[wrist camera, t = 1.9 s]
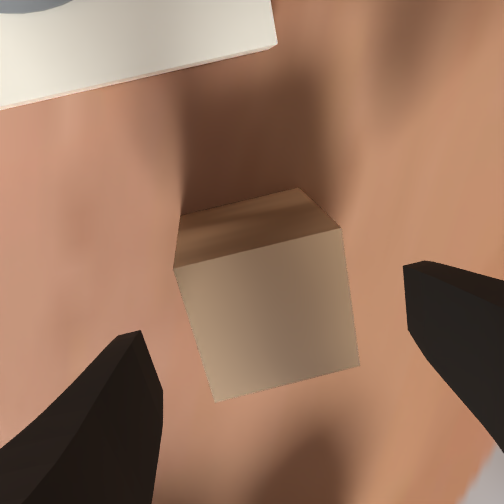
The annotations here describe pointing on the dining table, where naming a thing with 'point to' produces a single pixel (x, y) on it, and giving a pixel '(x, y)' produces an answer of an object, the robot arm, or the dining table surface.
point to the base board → (119, 41)
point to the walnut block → (266, 293)
